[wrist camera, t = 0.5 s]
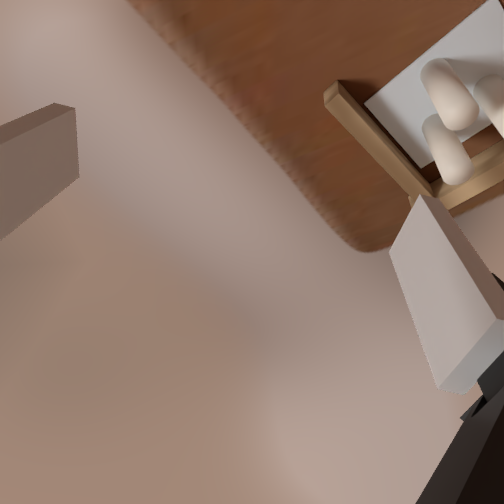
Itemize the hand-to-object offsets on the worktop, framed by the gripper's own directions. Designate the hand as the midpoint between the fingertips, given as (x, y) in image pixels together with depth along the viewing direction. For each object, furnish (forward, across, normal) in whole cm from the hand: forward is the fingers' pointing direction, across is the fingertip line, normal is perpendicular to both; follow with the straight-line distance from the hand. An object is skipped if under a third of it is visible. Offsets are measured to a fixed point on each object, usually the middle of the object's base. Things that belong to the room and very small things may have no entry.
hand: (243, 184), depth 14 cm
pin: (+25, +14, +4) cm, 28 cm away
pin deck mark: (+25, +16, +2) cm, 30 cm away
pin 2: (+25, +19, +3) cm, 31 cm away
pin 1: (+26, +16, -1) cm, 30 cm away
